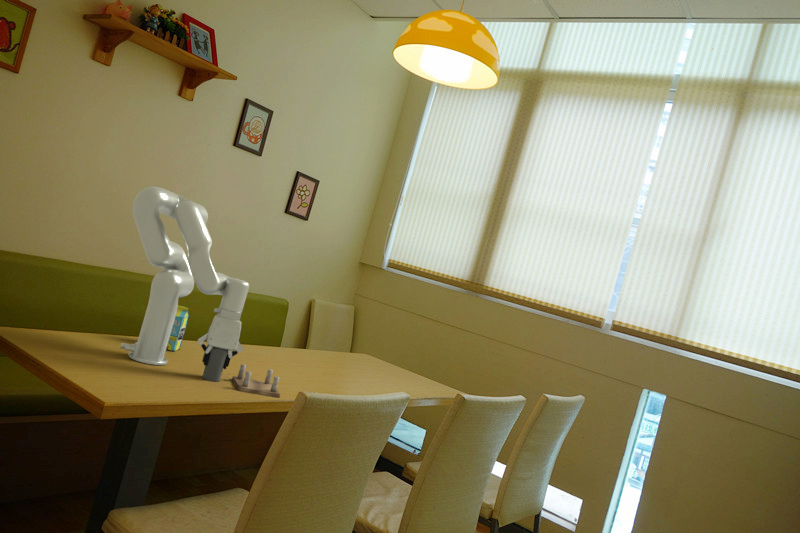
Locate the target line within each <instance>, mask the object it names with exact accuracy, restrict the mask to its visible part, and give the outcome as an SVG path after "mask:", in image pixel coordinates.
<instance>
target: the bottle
mask: <svg viewBox="0 0 800 533" xmlns="http://www.w3.org/2000/svg"><path fill="white" fill-rule="evenodd" d="M227 353H228V350H226V349H221V348H216V347H212V349H211V350H210V352H209V354H210V356H209V359H208V362H207V365H206V366H205V365H204V370H203V373H202V375H201V376H202V379H204V380H207V381H209V382H214V383H215V382H216V383H218V382H220V380H221V377H222V373H223V370H224V368H223V367H224V364H225V360H226V357H227Z"/></svg>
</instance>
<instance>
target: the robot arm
mask: <svg viewBox="0 0 800 533" xmlns="http://www.w3.org/2000/svg"><path fill="white" fill-rule="evenodd" d="M160 214H161V215H164V216H167V217H169V218H171V219H174V220H175V221H176V223H177V226H178V228H179V230H180V233H181V235H182V237H183V240H184V243H185V246H186V250H187V255H186V252H185V250H184V248H183V247H182V246H181V245H180V244H178V243H177V242H175V241H171V240H170V238H169V236H168V233H167V231H166V226H165V224H164V223H163V222H164V221H163V220H162V219H161V217H160ZM132 215H133V220H134V223H135V225H136V228H137V231H138V234H139V238H140V241H141V245H142V248H143V250H144V253H145V256H146V258H147V261H148V263H149V264H150V265H151V266H153V267H155V268H161V269H162V270H161V271H159V272H157V273H156V274H155V275H154V277H153V279H152V281H151V285H150V286H151V287H150V293H149V298H148V304H147V307H146V310H145V314H144V318H143V320H142V324H141V328H140V332H139V336H138V338H137V341H136V342H135V343H131V344H130V343H126V342H121V344H120V349H122V350H125V351H129V352H128V358H130V359H131V360H134V361H136V362H140V363H142V364H147V365H156V366H164V365H167V364H168V362H169V360H168V359H167V358H166V357H165V354H166V351H167V350H166V348H167V344H168V341H169V337H170V334H171V330H172V327H173V323H174V320H175V316H176V313H177V308H178V305H179V298H183V297H187V296H188V295H190V294H191V293H192V292H193V290H194V287H195V285H196V287H197V289H198V290H199V291H200V292H201V293H202V294H204V295H206V296H207V295H209V296H210V295H211V296H212V295H216V296H217V295H218V296H222V298H221V301H220V304H219V307H217V308H216V307H215V308H214V310H213V313H216V315H215V316H214V317H213V319H212V321H211V324H210V326H209V328H208V331H207V333H205V334H204V335H202V336H201V337H199V338H197V343H198V344H199V345H200V347H201V348H202V350H203V351H204V353H203V356H202V361H201V362H202V363H203V365H204V367H205V366H206V365H207V362H208V359H209V356H210V354H209V352H210V350H211V349H212V347H216V348H221V349H226V350H228V353H227V357H226V360H225V364H224V367H223V370H226V369H227V368H228V367H229V366H230V362H231V359H232V358H233V357H235V356H236V355H237V354H240V353H241V352H242V351H244V348H243V346H242V344H241V342H240V341H239V340H240V337H241V330H242V321H241V316H242V313H243V310H244V307H245V302H246V299H247V296H248V293H249V289H250V283H249V282H248V281H247V280H242V279H241V278H236V277H231V276H229V275H226V274H225V273H222V272H216V271H215V267H214V266H213V263H212V260H211V256H210V250H211V248H212V245H213V239H212V237H211V234H210V232H209V229H208V227H207V223H208V219H209V214H208V210H207V209H206V208H205V207H204V206H203V205H202V204H199V203H197V202H194V201H193V200H190V199H188V198H185V197H184V196H182V195H180V194H177V193H175V192H173V191H170V190H168V189H165V188H163V187H158V186H147V187H144V188H143V189H142V190H140V191H139V192H138V193H137V195H136V196H135V198H134V200H133V203H132ZM204 341H205V342H206V344H207V345H206V344H205V343H204Z"/></svg>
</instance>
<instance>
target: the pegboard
mask: <svg viewBox="0 0 800 533" xmlns="http://www.w3.org/2000/svg"><path fill="white" fill-rule="evenodd" d="M246 367H247V364H245V363H241V364H240V368H239V369H238V370H239V371H238V373H237V376H235V375H233V376H232V378H231V380H232V382H233V383H234V385H235V387H236V388H237V391H239V392H244V393H250V394H256V395H262V396H269V397H273V398H280V397H281V393H280V392H279V391H278V389H277V388H278V385H279V381H280V376H274V377H273V380H272V376H273V372H274V369H271V368H268V370H267V372H266V376H265V379H264V381H261V380H257V379H251V376H252V371H249V370H246ZM245 370H246V372H245ZM271 380H272V382H271Z"/></svg>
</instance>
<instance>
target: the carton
mask: <svg viewBox="0 0 800 533" xmlns="http://www.w3.org/2000/svg"><path fill="white" fill-rule="evenodd" d="M189 309H190V308H188V307H186V306H183V305H179V304H178V308H177V313H176V316H175V320H174V323H173V327H172V330H171V334H170V337H169V341H168V344H167V348H166V351H167V352H168V351H169V352H172V353H174V352H177V351H180V349H181V347H182V346H181V345H182V343H183V338H184V335H185V332H186V329H187V326H188V323H189V320H190V316H189Z"/></svg>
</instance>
